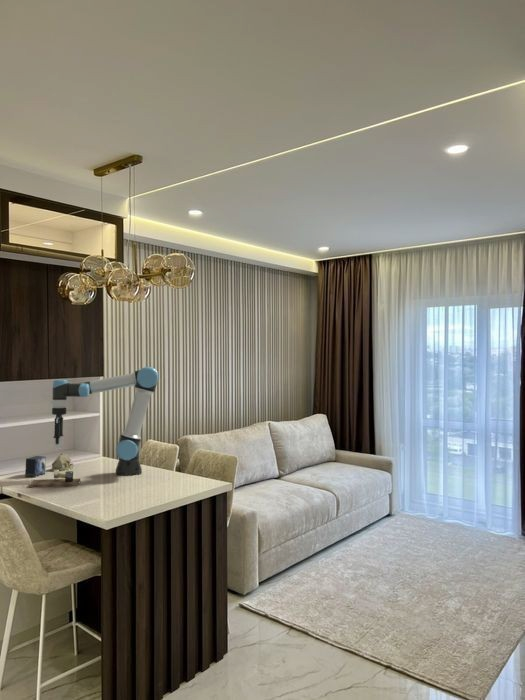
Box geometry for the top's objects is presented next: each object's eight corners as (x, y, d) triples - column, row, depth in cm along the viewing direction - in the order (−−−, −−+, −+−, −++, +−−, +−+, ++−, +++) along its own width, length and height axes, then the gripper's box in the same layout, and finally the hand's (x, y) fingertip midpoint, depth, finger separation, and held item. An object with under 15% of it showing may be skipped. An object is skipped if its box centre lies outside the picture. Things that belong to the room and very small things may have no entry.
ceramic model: (63, 472, 319) (63, 455, 319) (46, 471, 321) (47, 454, 322) (76, 468, 332) (77, 451, 333) (60, 467, 335) (61, 451, 335)
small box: (34, 477, 301) (35, 459, 302) (24, 477, 302) (25, 458, 303) (46, 474, 312) (46, 456, 312) (36, 473, 313) (36, 455, 313)
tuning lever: (74, 480, 287) (74, 471, 287) (69, 481, 284) (69, 472, 284) (57, 478, 292) (57, 469, 292) (51, 479, 288) (51, 470, 289)
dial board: (80, 481, 293) (80, 478, 294) (77, 486, 281) (77, 483, 281) (33, 482, 289) (33, 479, 289) (28, 487, 276) (28, 484, 276)
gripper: (55, 406, 308) (53, 446, 307) (49, 408, 290) (47, 451, 289) (68, 406, 309) (67, 446, 308) (63, 408, 291) (62, 451, 291)
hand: (58, 448), depth 299 cm, fingers open, 5 cm apart
